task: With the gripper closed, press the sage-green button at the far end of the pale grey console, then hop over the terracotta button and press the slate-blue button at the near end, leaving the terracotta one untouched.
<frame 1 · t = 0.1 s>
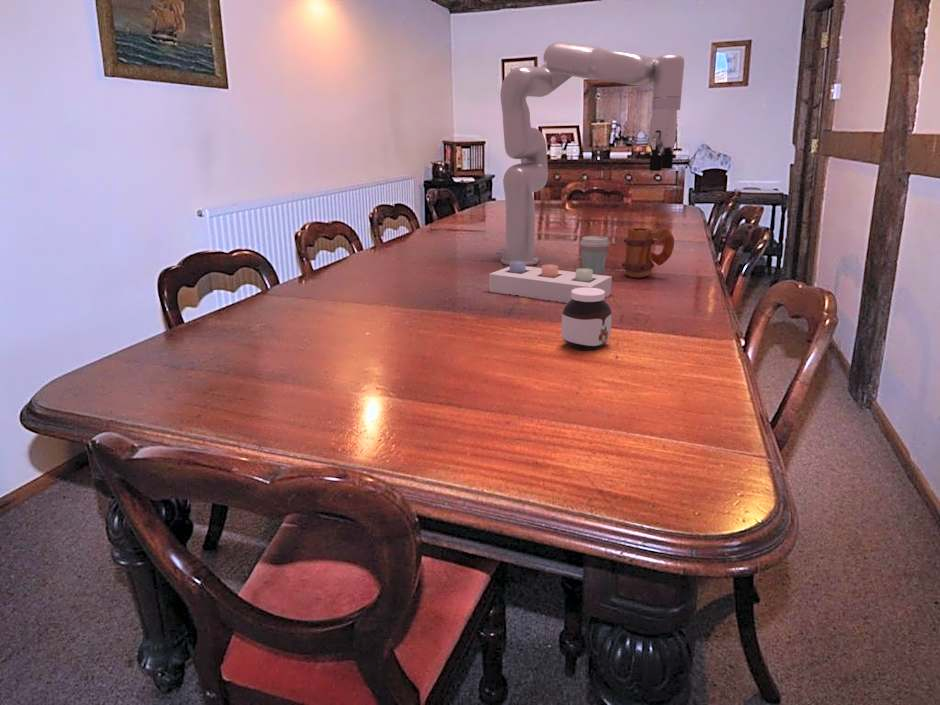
hand: (660, 169, 185), 31 cm above the table, tool pointing down, fingers open, 9 cm apart
slate button: (517, 271, 183), point 5 cm above the table, slide at 0.0 cm
sage button: (583, 279, 173), point 5 cm above the table, slide at 0.0 cm
spread jar: (582, 343, 140), on the table
coffee cup: (592, 278, 197), on the table
mug: (645, 277, 197), on the table
console: (549, 293, 180), on the table
terracotta button: (549, 275, 178), point 5 cm above the table, slide at 0.0 cm
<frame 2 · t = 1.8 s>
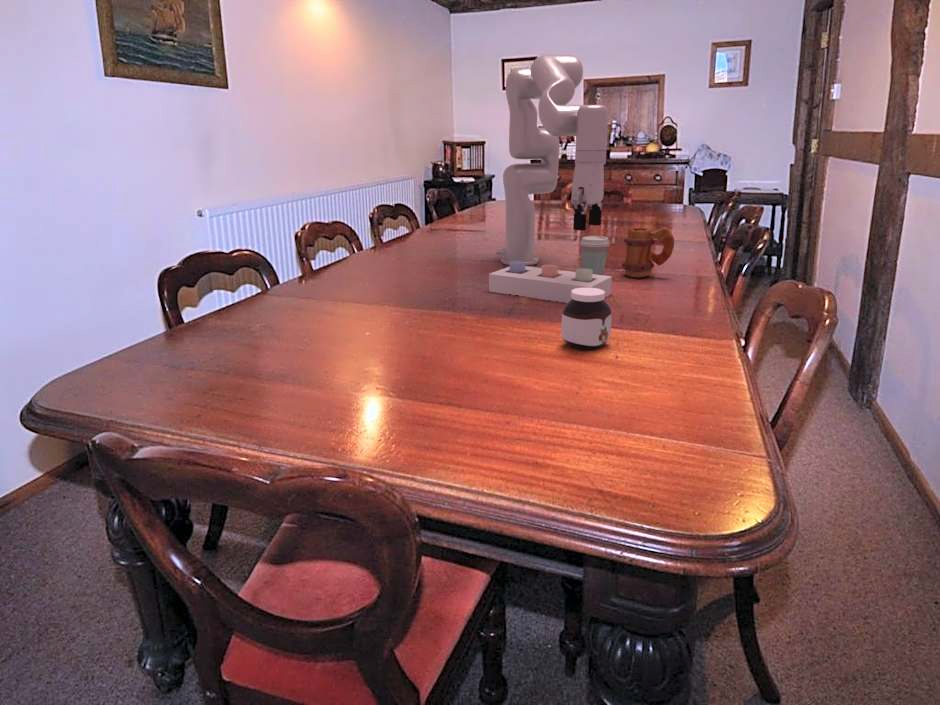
hand: (587, 227, 169), 19 cm above the table, tool pointing down, fingers open, 9 cm apart
nothing on the table moved.
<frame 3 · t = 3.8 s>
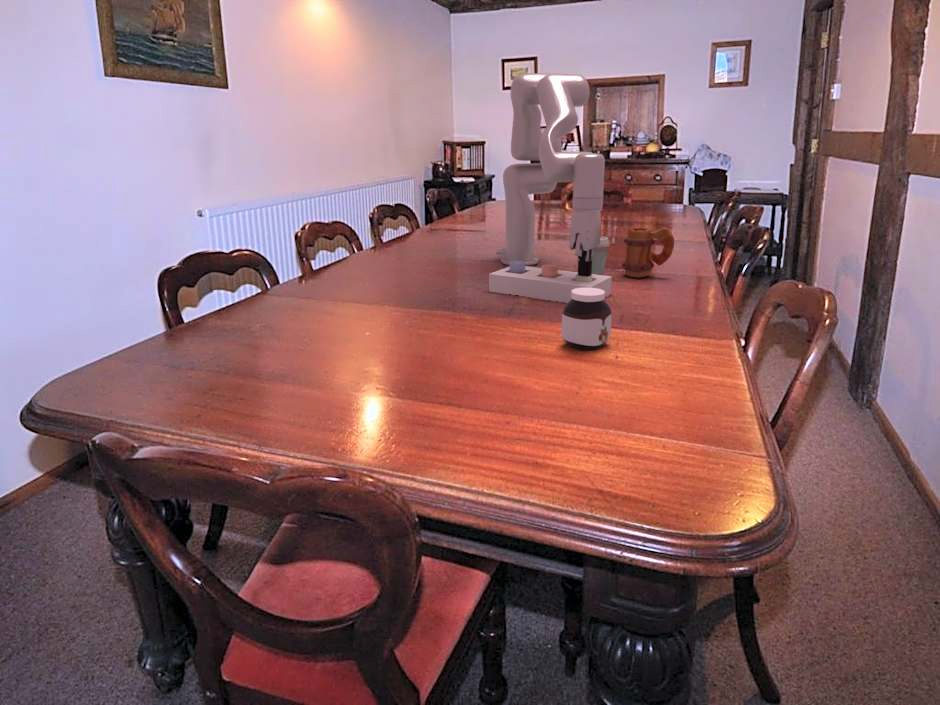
hand: (584, 275, 172), 6 cm above the table, tool pointing down, fingers closed
sage button: (583, 284, 174), point 4 cm above the table, slide at 1.4 cm, touching gripper
everything else where it was.
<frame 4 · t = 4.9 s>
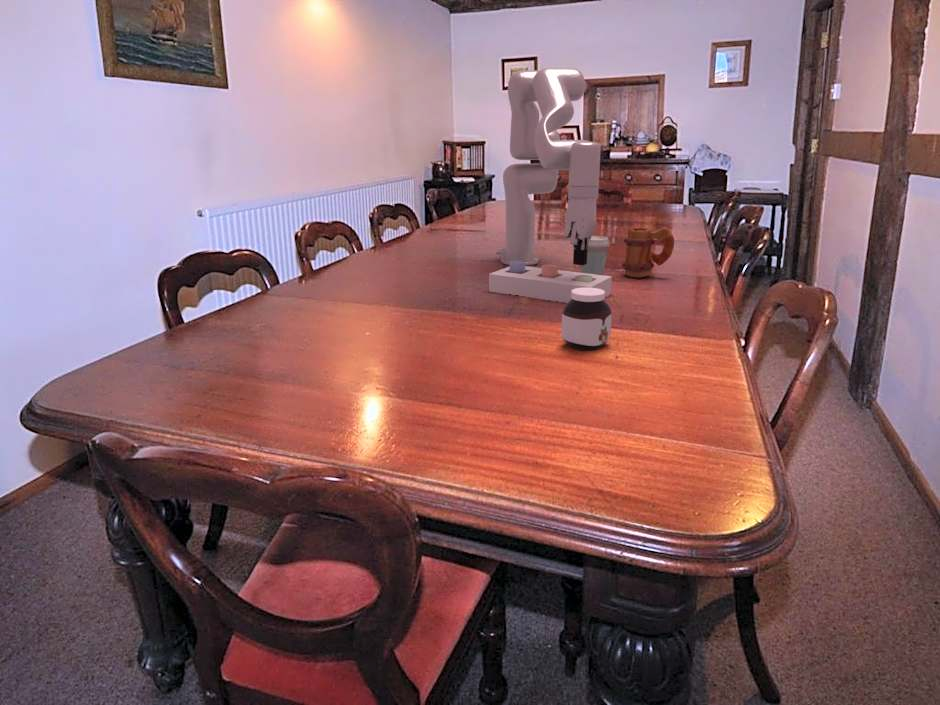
hand: (579, 264, 172), 9 cm above the table, tool pointing down, fingers closed
sage button: (583, 286, 174), point 3 cm above the table, slide at 1.8 cm
everything else where it was.
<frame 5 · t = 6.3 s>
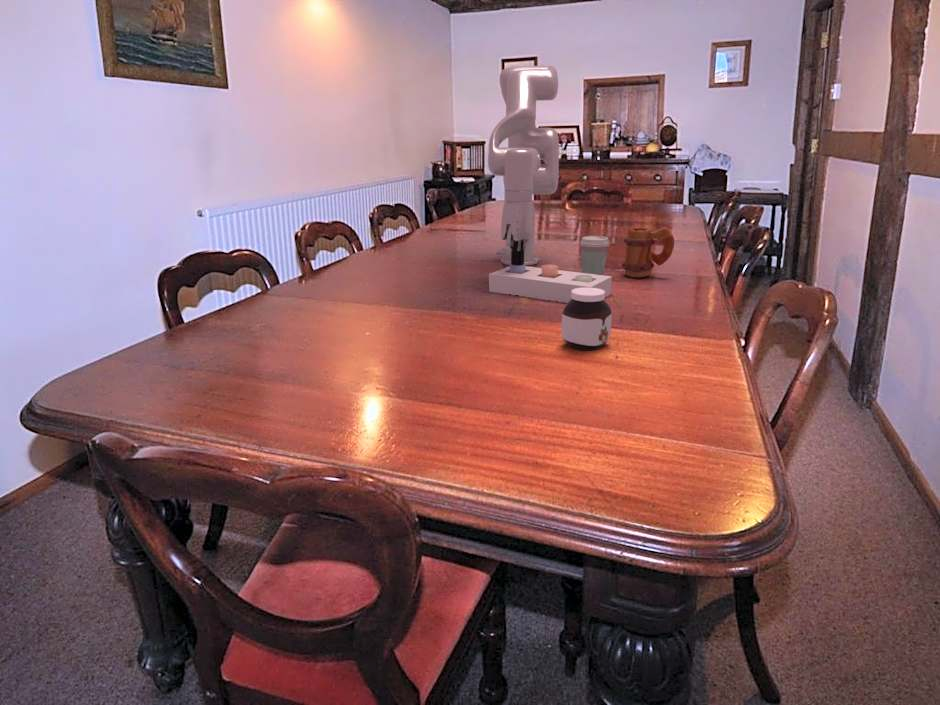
hand: (517, 264, 182), 7 cm above the table, tool pointing down, fingers closed
slate button: (517, 273, 184), point 4 cm above the table, slide at 0.6 cm, touching gripper
everything else where it was.
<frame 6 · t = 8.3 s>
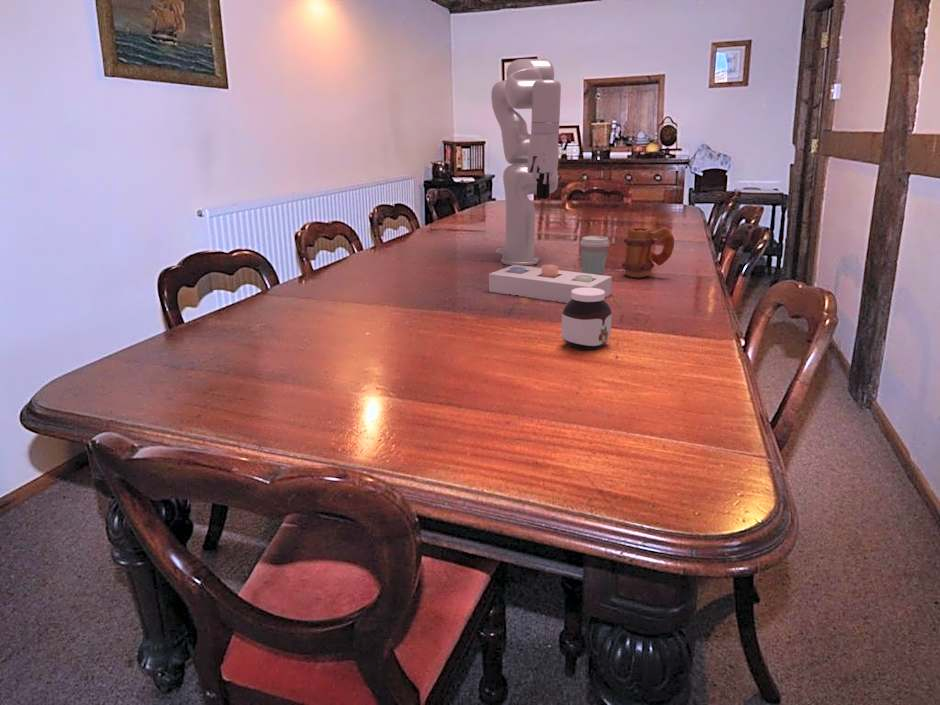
hand: (542, 198, 184), 24 cm above the table, tool pointing down, fingers closed
slate button: (517, 277, 184), point 3 cm above the table, slide at 1.8 cm
everything else where it was.
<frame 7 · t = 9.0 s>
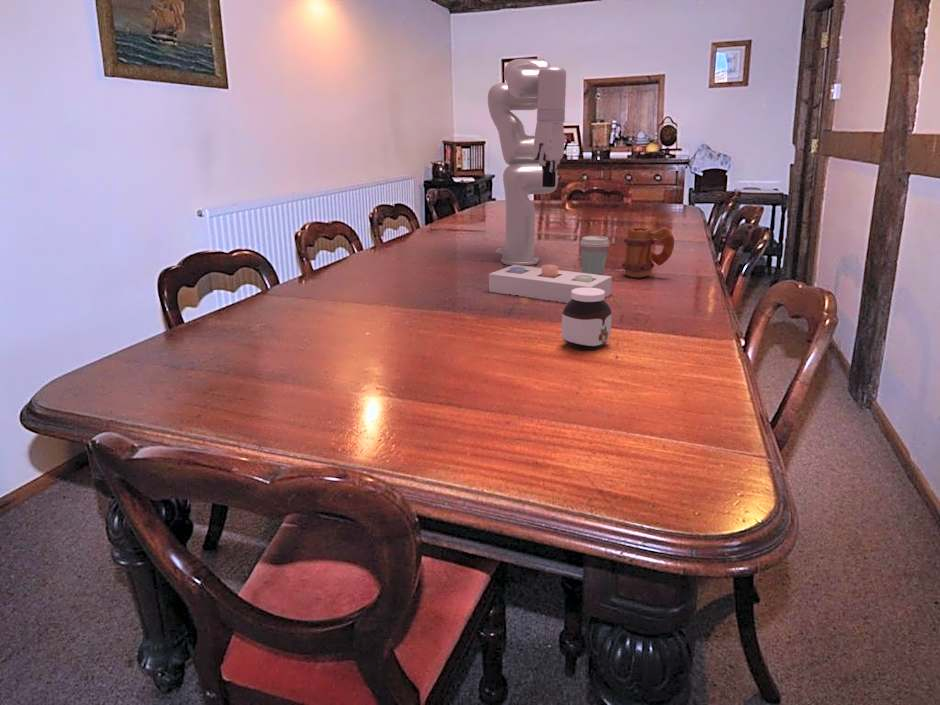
hand: (548, 186, 184), 27 cm above the table, tool pointing down, fingers closed
nothing on the table moved.
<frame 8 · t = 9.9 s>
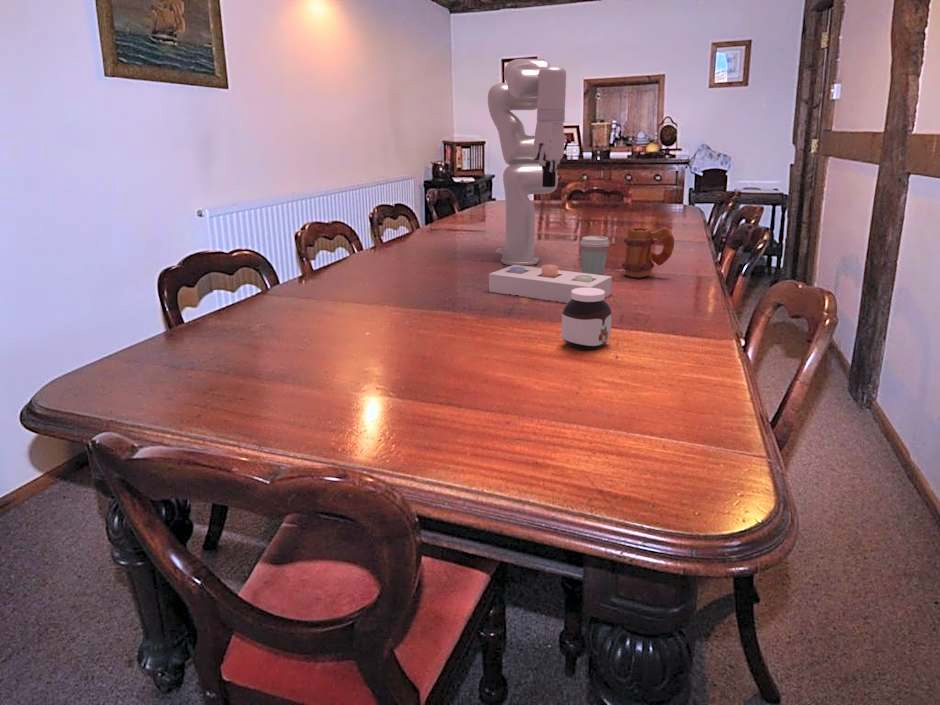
hand: (548, 186, 184), 27 cm above the table, tool pointing down, fingers closed
nothing on the table moved.
at the end: sage button slide at 1.8 cm; slate button slide at 1.8 cm; terracotta button slide at 0.0 cm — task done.
